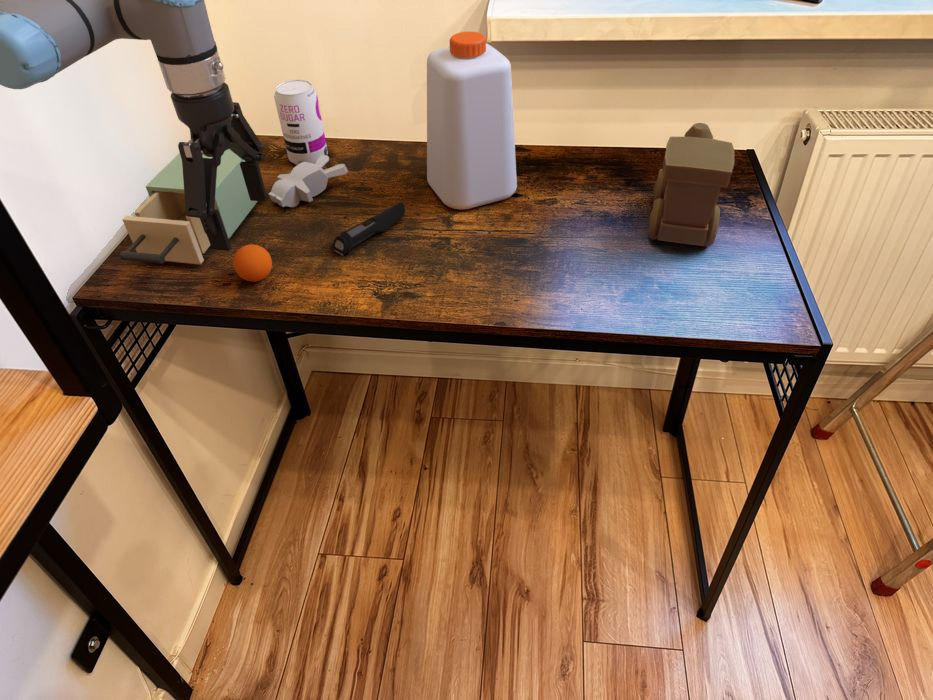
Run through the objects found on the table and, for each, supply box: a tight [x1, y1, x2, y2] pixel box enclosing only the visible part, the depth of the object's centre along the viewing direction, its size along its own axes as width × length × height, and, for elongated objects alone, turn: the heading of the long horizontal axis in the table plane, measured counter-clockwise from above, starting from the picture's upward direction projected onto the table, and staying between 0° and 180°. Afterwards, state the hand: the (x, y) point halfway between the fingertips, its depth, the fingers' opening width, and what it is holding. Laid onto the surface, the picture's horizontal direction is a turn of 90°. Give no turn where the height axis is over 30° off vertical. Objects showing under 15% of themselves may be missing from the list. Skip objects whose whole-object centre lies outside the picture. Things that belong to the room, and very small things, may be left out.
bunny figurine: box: [268, 154, 349, 208], centre depth 128 cm, size 10×5×15 cm
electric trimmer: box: [332, 201, 406, 256], centre depth 118 cm, size 4×16×3 cm, turn 137°
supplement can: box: [273, 79, 329, 166], centre depth 135 cm, size 8×8×15 cm
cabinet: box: [145, 149, 259, 240], centre depth 122 cm, size 15×13×10 cm
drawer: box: [119, 191, 215, 265], centre depth 113 cm, size 20×11×8 cm, turn 169°
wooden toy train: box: [647, 122, 735, 248], centre depth 113 cm, size 20×11×17 cm, turn 164°
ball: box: [232, 243, 273, 283], centre depth 109 cm, size 6×6×6 cm
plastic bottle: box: [426, 31, 518, 210], centre depth 120 cm, size 15×15×28 cm
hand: (241, 223), depth 103 cm, fingers open, 13 cm apart
